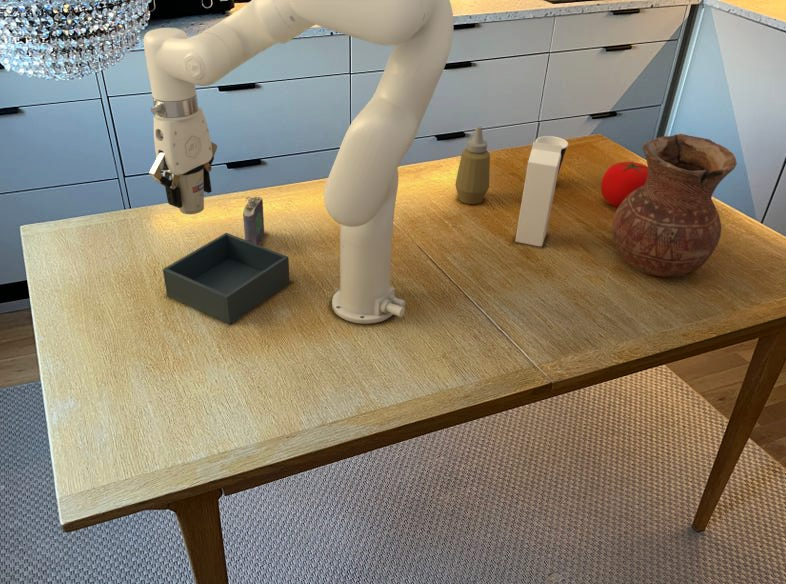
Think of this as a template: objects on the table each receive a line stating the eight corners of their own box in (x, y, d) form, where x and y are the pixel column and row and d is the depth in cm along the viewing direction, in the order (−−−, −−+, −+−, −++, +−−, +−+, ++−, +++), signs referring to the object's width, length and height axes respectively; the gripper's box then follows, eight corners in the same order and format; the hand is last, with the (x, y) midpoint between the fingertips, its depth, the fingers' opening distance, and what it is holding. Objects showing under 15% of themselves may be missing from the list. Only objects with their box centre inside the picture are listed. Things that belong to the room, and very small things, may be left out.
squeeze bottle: (448, 194, 186) (455, 122, 175) (479, 190, 188) (487, 119, 177) (461, 208, 180) (469, 135, 169) (492, 204, 182) (502, 132, 171)
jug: (723, 290, 155) (765, 175, 139) (620, 288, 154) (652, 173, 139) (686, 236, 172) (720, 129, 157) (594, 234, 172) (620, 127, 156)
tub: (289, 283, 153) (288, 256, 149) (229, 324, 141) (226, 297, 137) (228, 258, 160) (226, 232, 156) (166, 295, 148) (162, 269, 144)
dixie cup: (527, 176, 195) (534, 134, 188) (558, 178, 195) (566, 136, 188) (529, 189, 189) (536, 147, 182) (561, 191, 189) (570, 149, 182)
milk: (541, 247, 167) (560, 152, 153) (514, 242, 168) (530, 147, 154) (546, 234, 171) (564, 140, 157) (519, 229, 173) (535, 136, 159)
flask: (255, 254, 161) (251, 208, 155) (242, 252, 162) (238, 207, 155) (266, 233, 169) (263, 188, 162) (253, 232, 169) (250, 187, 162)
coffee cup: (167, 214, 144) (158, 165, 137) (183, 199, 149) (175, 150, 143) (201, 219, 142) (193, 169, 136) (216, 203, 148) (209, 153, 141)
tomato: (595, 210, 181) (605, 169, 174) (598, 190, 190) (608, 150, 183) (647, 218, 178) (659, 177, 172) (648, 197, 187) (659, 157, 181)
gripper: (153, 124, 126) (170, 221, 137) (225, 95, 137) (236, 186, 148) (123, 115, 129) (142, 210, 140) (196, 87, 141) (208, 177, 152)
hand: (190, 197), depth 144 cm, fingers closed on coffee cup, 7 cm apart
